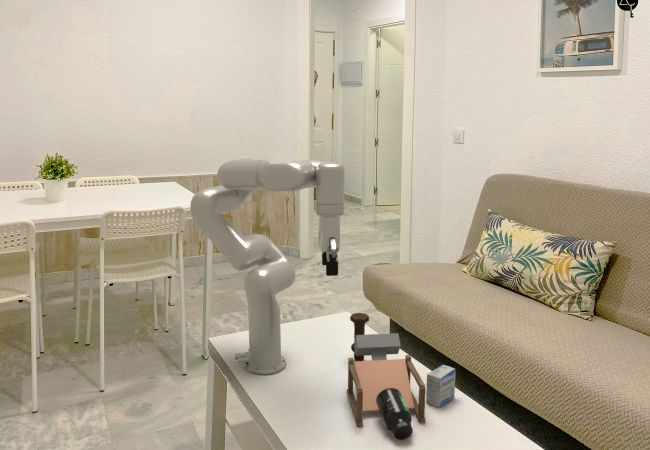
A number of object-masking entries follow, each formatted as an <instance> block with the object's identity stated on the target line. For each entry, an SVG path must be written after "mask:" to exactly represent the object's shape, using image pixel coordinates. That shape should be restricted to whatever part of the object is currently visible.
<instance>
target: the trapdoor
mask: <svg viewBox="0 0 650 450" xmlns="http://www.w3.org/2000/svg"><path fill="white" fill-rule="evenodd" d="M353 341H354V340H353ZM353 343H354V346H355V354H356V356H364V357H365V356H371V360H364V361H355V360H354V362H353V364H354V366H355V369H356V372H357V375H358V378H359V380H360V383H361V386H362V391H363V410H362V413H370V412H372V413H373V412H380V411H379V409H378V406H377V404H376V398H377V396H378V394H379V393H380V392H381V391H383V390H384V389H387V388H395V389H397V390H399V391H400V393H401V394H402V397H403V399H404V401H405V403H406V405H407V407H408V410H412V409H414V404H413V399H412V393H413V392H412V393H411V391H412V389H411V382H410V383H409V378H408V373H407V367H406V362H405V358H397V359H394V358H393V359H388V357H387V355H398V354H399V351H400V350H401V341H400V336H399V333H398V332H397V333H396V332H395V333H394V332H393V333H375V334H374V333H373V334H365V335H356V337H355V341H354V342H353Z"/></svg>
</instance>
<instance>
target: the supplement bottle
mask: <svg viewBox="0 0 650 450" xmlns="http://www.w3.org/2000/svg"><path fill="white" fill-rule="evenodd" d="M376 404H377V406H378V409H379V411H378V412H379V415H380V416H381V418H382V421H383V423H384V426H385V428H386V430H388V431H389V432H391V434H393V435H392V436H393V437H394V438H395V439H396V440H398V441H403V440H404V441H405V440H406V439H408V438H410V437H411V436H412V435H413V430H414V429H413V426H412V420H413V419H412V414H411V412H410V409H408V407H407V405H406V403H405V401H404V399H403V397H402V394H401V393H400V391H399V390H397V389H395V388H387V389H384V390H383V391H381V392H380V393H379V394H378V396H377V398H376Z"/></svg>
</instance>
